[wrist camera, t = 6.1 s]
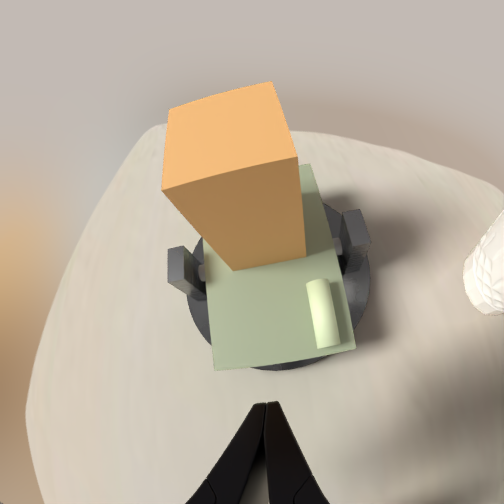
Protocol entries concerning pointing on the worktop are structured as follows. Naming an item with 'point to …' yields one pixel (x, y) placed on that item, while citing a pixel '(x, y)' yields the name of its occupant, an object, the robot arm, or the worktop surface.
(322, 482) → the worktop surface
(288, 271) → the orange and green block
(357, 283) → the base
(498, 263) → the white cup
